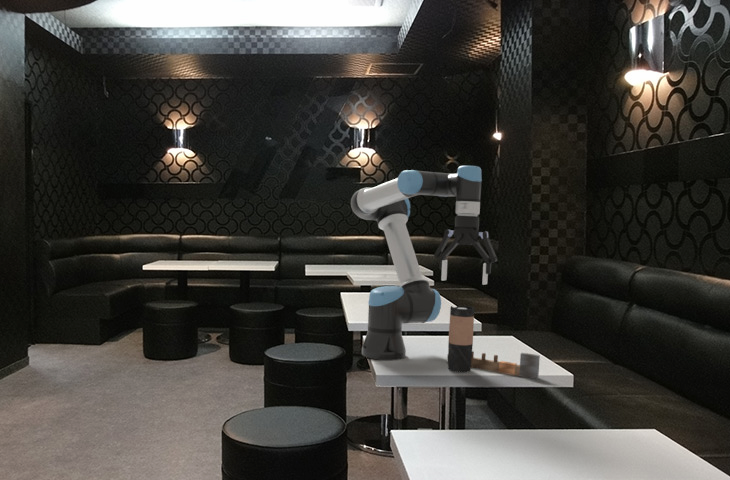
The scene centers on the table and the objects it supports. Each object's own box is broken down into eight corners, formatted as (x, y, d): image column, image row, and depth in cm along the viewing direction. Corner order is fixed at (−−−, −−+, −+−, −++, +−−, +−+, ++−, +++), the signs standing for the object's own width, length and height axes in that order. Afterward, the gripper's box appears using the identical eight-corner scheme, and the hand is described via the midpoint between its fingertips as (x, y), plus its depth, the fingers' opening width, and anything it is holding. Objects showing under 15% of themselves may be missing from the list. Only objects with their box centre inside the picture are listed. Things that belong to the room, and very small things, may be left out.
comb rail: (446, 363, 199) (448, 342, 199) (449, 362, 201) (450, 341, 200) (537, 378, 185) (538, 356, 184) (538, 377, 186) (539, 355, 186)
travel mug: (470, 373, 187) (474, 310, 186) (446, 371, 189) (449, 308, 188) (471, 367, 195) (474, 306, 194) (447, 365, 196) (450, 304, 196)
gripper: (426, 213, 192) (423, 279, 193) (502, 216, 180) (499, 287, 181) (435, 213, 199) (432, 277, 200) (509, 217, 187) (506, 285, 188)
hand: (463, 282), depth 191 cm, fingers open, 13 cm apart
